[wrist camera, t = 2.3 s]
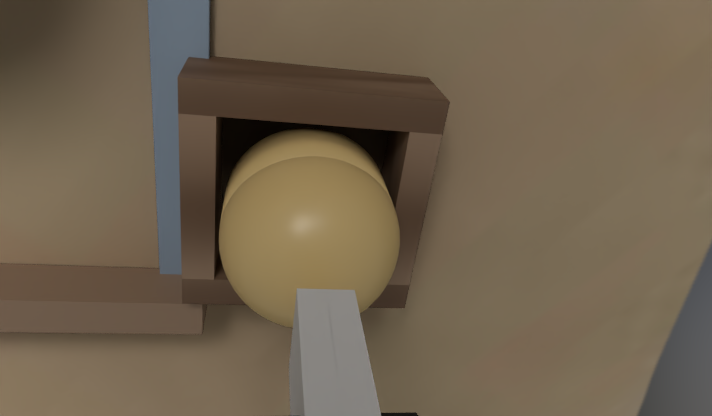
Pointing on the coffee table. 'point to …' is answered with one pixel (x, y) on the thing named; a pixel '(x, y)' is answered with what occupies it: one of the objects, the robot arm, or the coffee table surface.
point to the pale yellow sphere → (306, 222)
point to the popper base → (308, 106)
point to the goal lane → (152, 285)
